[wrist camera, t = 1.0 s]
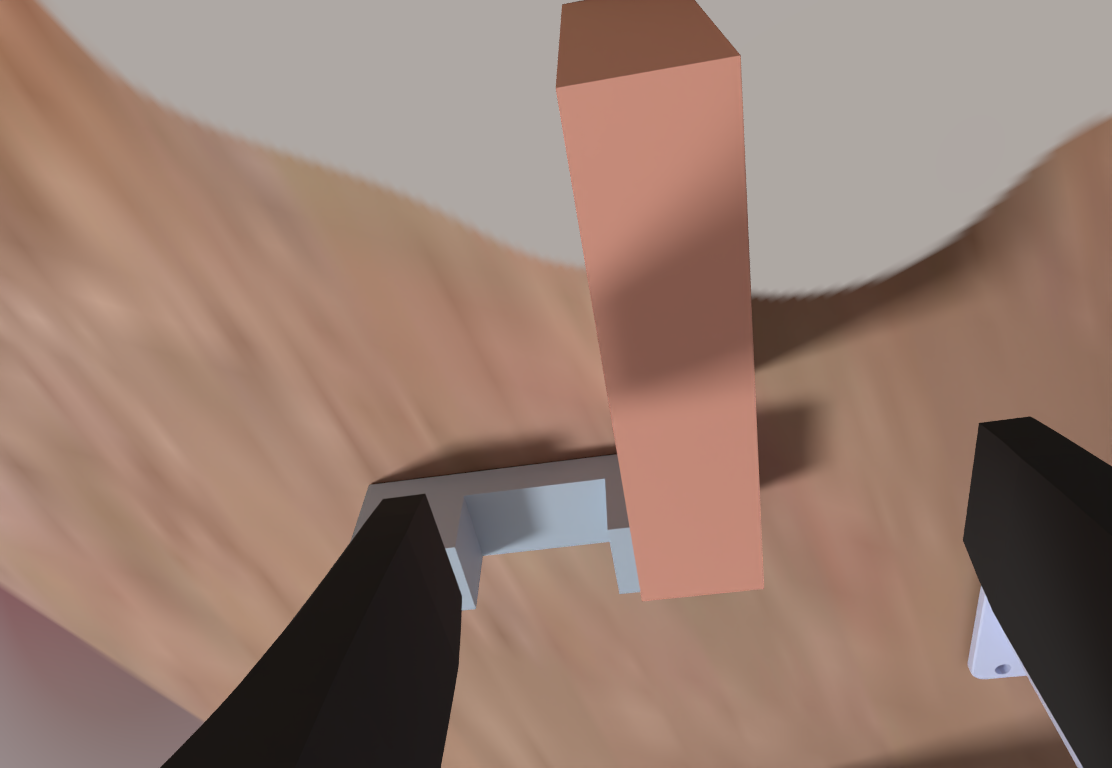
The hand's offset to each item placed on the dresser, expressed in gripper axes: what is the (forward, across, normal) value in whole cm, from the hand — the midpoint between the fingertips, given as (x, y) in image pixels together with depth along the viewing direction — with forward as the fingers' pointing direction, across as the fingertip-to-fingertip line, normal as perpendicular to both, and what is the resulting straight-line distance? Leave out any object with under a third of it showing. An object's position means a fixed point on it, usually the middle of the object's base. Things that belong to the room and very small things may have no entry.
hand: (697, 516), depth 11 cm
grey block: (+10, +4, +8) cm, 13 cm away
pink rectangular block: (+10, 0, 0) cm, 10 cm away
